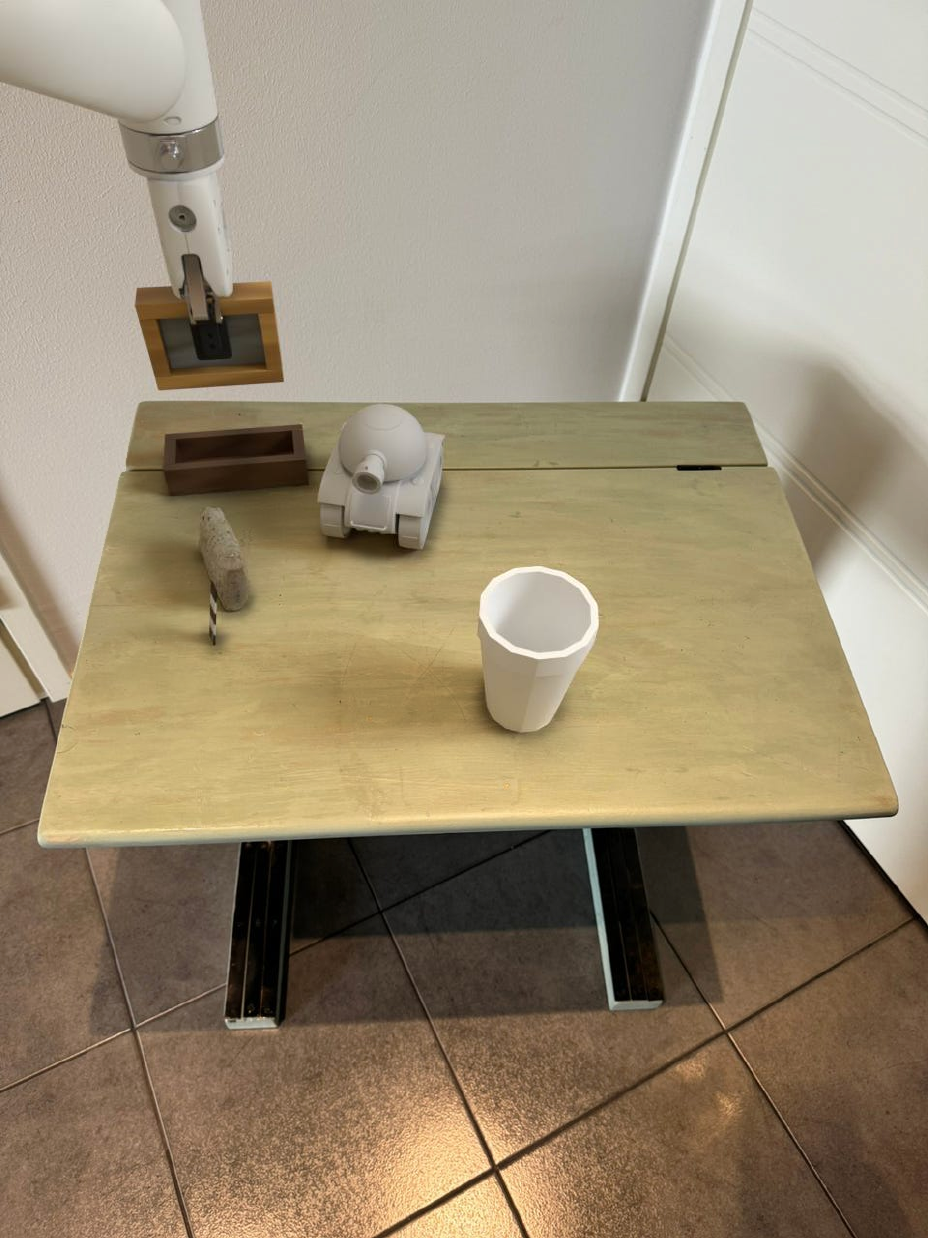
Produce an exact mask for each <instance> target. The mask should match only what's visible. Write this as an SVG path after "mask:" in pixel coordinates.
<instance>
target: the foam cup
mask: <svg viewBox="0 0 928 1238" xmlns="http://www.w3.org/2000/svg"><path fill="white" fill-rule="evenodd" d="M477 618H478V619H477V631H476V632H477V634H476V635H477V637H478V639H479V642H480V652H481V662H482V663H481V664H482V672H483V673H482V674H483V681H484V682H483V683H484V691H485V692H484V694H485V703H486V708H487V710H488V712H489V714H490V716H491V718H492V720H493V721H495V722H496V723H498V724H499V725H500V726H501V727H503V728H504V729H506V730H509V731H512V732H516V733H520V734H522V733H532V732H537V731H539V730H541V729H542V728H544V727H546V726H548V725H549V724H550V722H551V721H552V719H553V717H554V716H555V714H556V713H557V710H558V709H559V707H560V705H561V703H562V701H563V699H564V697H565V695H566V693H567V691H568V689H569V688H570V686H571V684H572V682H573V679H574V677H575V676H576V674H577V672H578V670H579V668H580V666H581V665H582V664H583V663H584V661H585V659H586V658H587V656H588V655H589V652H590V651H591V650H592V648H593V646H594V645H595V641H596V637H597V633H598V631H599V626H600V625H599V623H600V622H599V605H598V603H597V601H596V600H595V598H594V597H593V595H592V594H591V592H590V591H589V589H588V588H587V586H586V585H585V584H583V583H581V581H579V580H577V579H575V578H574V577H572V575H570V574H568V573H566V572H565V571H561V570H558V569H554V568H549V567H545V566H542V565H534V566H523V567H522V566H521V567H513V568H512V569H509V570H508V571H505V572H503V573H501V574H500V575H497V576H494V577H493V578H492V579H491V580H490V582H489V583H488V584H487V586H486V587H485V589H484V590H483V592H482V593H481V594H480V597H479V607H478V617H477Z"/></svg>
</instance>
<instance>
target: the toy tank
mask: <svg viewBox="0 0 928 1238" xmlns="http://www.w3.org/2000/svg"><path fill="white" fill-rule="evenodd" d="M444 439H446V434H442V433H435V432H429V431H428V432H427V431H424V429H423V428H422V426H421V424H420V422H419V421H418V419H416V418H415V417H414V415H413V414H412V413H410V412H409V411H407V410H406V409H404V408H402V407H400V406H397V405H394V404H389V403H375V404H371V405H367V406H365V407H362V408H360V409H358V411H356V412H355V413H353V414H352V415H350V417H349V418H348V420H346V421H345V422H344V423H343V425H342V426H341V428H340V431H339V434H338V436H337V439H336V440H335V443H334V446H333V448H332V450H331V453H330V456H329V458H328V461H327V463H326V466H325V469H324V471H323V473H322V476H321V481H320V484H319V488H318V494H317V500H316V502H317V503H319V504H320V506H319V507H320V509H319V523H320V530H321V533H322V535H325V536H327V537H334V538H339V539H341V538H345V539H346V538H347V537H349V535H350V533H351V530H352V529H355V530H356V531H363V532H364V530H365V531H367V532H368V533H377V532H379V534H382V535H387V534H391V535H398V545H399V546H400V547H402V548H405V549H406V548H407V549H413V550H422V549H423V548H424V545H425V542H426V540H427V536H428V533H429V529H430V525H431V519H432V516H433V513H434V508H435V505H436V501H437V497H438V494H439V490H440V487H441V482H442V481H441V480H442V474H443V468H444V467H443V466H444Z"/></svg>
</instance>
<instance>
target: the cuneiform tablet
mask: <svg viewBox="0 0 928 1238" xmlns="http://www.w3.org/2000/svg"><path fill="white" fill-rule="evenodd" d="M199 531H200V532H199V540H198V547H199V550H200V551H199V552H200V553H201V555H202V557H203V562H204V567H205V568H206V571H207V574H208V576H209V578H210V587H209V589H210V592H209V593H210V594H209V596H210V597H209V631H208V635H209V637H210V640H211V642H212V645H213V646H216V636H217V635H216V634H217V611H218V610H217V609H218V607H217V606H218V605H217V604H218V598H219V600H220V603H221V605H222V606H223V607H224V609H225V610H226V611H228V612H235V611H240V610H242V609H243V608H244V606H245V605H246V603H247V601H248V599H249V596H250V589H251V587H250V581H251V580H250V578H249V571H248V568H247V565H246V561H245V558H244V555H243V552H242V548H241V546H240V544H239V541H238V538H237V537H236V535H235V532H234V530H233V529H232V527H231V524H230V523H229V521H228V520H227V518H226V515H225V513H224V512H223V510H222V509H221V508H220V507H218V506H214V507H211V506H205V507H203V509H202V511H201V513H200V529H199Z"/></svg>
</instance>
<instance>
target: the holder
mask: <svg viewBox="0 0 928 1238" xmlns="http://www.w3.org/2000/svg"><path fill="white" fill-rule="evenodd" d="M308 471H309V470H308V462H307V454H306V445H305V436H304V427H303V424H302V423H299V424H298V423H297V424H284V425H272V426H271V425H269V426H259V427H257V426H256V427H245V428H244V427H243V428H231V429H230V428H229V429H219V430H216V429H215V430H204V431H202V430H201V431H191V432H190V431H189V432H178V433H177V432H176V433H165V434H164V447H163V463H162V472H163V476H164V479H165V482H166V486H167V488H168V492H169V495H170V497H175V496H188V495H200V494H211V493H222V492H234V491H243V490H245V491H246V490H255V489H268V488H269V489H270V488H279V487H281V488H282V487H290V486H291V487H292V486H293V487H294V486H305V485H309V484H310V481H309V480H310V479H309V473H308Z"/></svg>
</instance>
